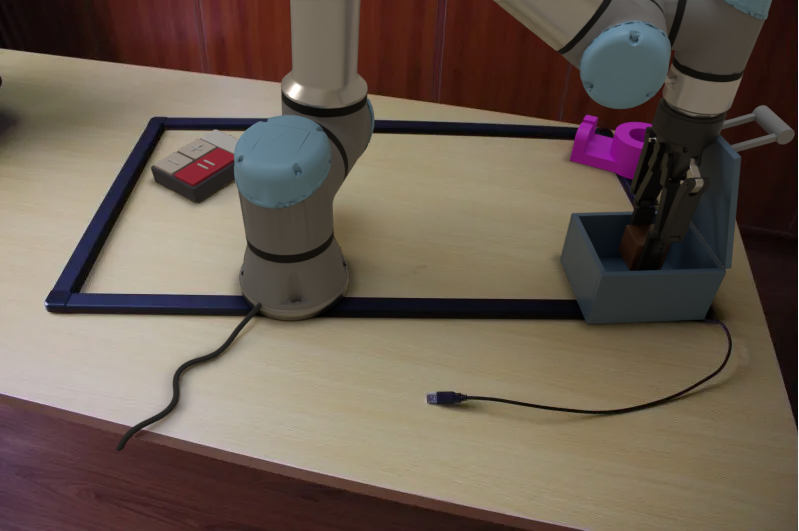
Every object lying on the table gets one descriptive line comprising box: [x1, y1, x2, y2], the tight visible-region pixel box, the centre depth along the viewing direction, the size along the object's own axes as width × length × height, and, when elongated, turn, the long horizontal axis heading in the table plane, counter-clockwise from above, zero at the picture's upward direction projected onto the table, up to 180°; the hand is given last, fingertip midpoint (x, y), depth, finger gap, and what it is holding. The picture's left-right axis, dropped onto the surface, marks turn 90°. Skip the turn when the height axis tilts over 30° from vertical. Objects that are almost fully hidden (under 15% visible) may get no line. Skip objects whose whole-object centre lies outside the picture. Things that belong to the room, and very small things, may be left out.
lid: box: [691, 104, 795, 270], centre depth 81 cm, size 17×14×9 cm
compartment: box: [559, 210, 727, 325], centre depth 90 cm, size 17×14×9 cm
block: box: [618, 224, 671, 271], centre depth 88 cm, size 4×4×4 cm
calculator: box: [150, 129, 239, 204], centre depth 111 cm, size 11×4×15 cm
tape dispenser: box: [569, 114, 652, 180], centre depth 117 cm, size 16×10×6 cm, turn 63°
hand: (639, 257), depth 89 cm, fingers closed on block, 4 cm apart
